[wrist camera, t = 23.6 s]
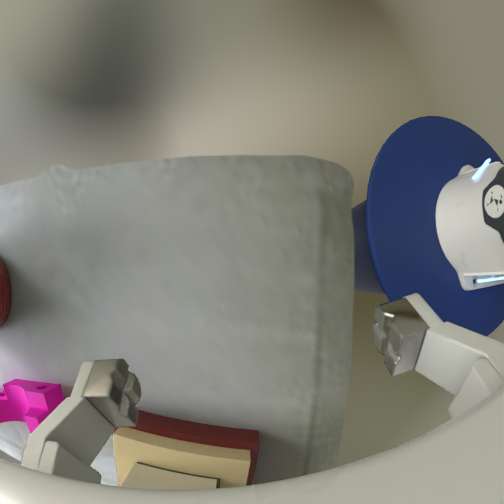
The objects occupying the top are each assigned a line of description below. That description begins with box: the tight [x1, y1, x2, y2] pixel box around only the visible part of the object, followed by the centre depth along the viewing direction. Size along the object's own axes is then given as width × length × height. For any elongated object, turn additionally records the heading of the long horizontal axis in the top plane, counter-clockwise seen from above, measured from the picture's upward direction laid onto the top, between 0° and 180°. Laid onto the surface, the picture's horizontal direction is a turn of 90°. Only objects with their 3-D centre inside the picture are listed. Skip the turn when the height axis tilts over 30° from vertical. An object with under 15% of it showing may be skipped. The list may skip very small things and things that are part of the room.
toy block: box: [0, 379, 64, 433], centre depth 28 cm, size 15×6×8 cm, turn 98°
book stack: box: [113, 410, 260, 488], centre depth 29 cm, size 18×13×6 cm
